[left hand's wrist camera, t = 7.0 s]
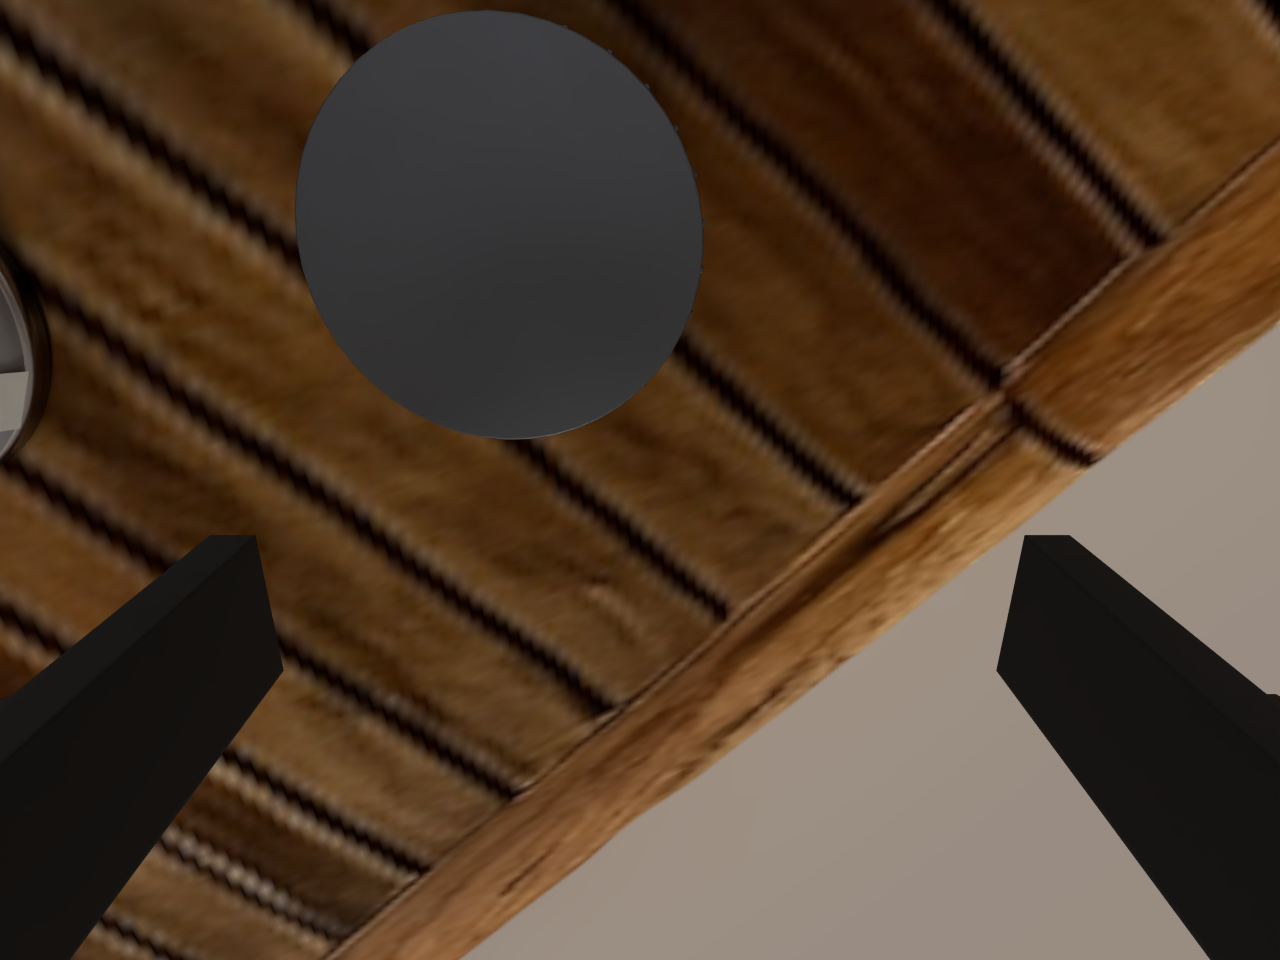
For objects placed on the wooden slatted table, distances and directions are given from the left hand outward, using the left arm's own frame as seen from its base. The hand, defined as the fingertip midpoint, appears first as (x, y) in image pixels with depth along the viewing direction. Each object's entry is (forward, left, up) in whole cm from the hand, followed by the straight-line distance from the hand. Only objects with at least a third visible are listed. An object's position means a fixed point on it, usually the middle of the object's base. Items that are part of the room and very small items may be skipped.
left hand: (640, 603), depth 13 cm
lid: (-6, +3, -6) cm, 8 cm away
